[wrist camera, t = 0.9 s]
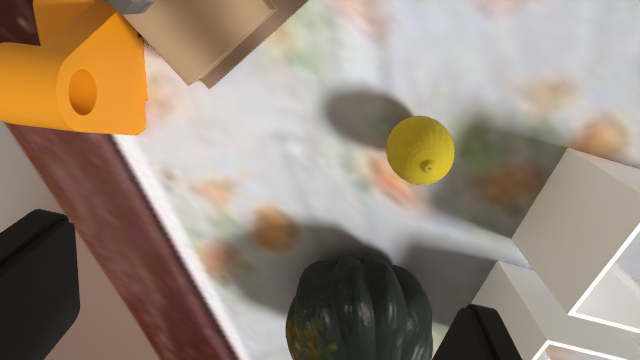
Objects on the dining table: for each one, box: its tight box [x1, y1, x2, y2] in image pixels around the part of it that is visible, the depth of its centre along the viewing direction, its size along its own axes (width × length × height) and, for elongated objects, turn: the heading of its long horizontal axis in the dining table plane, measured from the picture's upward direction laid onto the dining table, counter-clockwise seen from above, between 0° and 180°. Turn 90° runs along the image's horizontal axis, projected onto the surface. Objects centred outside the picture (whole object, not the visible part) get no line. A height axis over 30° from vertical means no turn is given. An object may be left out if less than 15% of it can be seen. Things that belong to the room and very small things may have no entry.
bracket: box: [0, 0, 148, 135], centre depth 28 cm, size 11×7×12 cm, turn 173°
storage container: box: [471, 148, 640, 360], centre depth 37 cm, size 25×11×11 cm, turn 164°
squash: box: [286, 254, 433, 360], centre depth 39 cm, size 14×15×15 cm
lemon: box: [386, 116, 454, 185], centre depth 32 cm, size 6×6×8 cm
